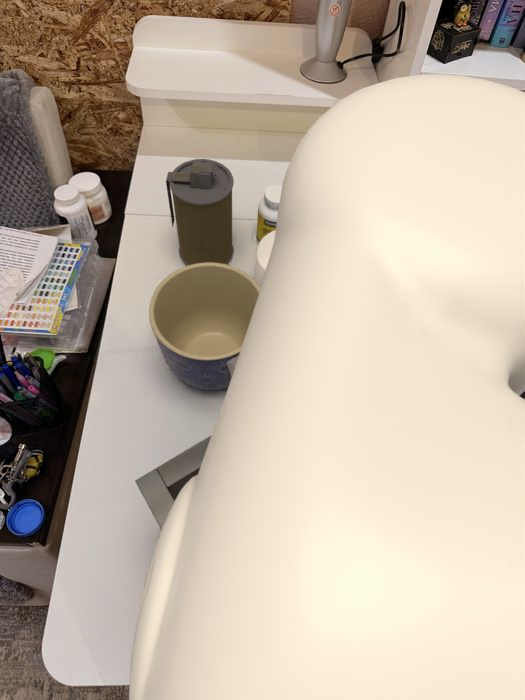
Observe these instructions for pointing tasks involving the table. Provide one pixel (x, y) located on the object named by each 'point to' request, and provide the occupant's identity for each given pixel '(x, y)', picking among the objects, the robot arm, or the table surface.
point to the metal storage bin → (171, 480)
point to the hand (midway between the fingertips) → (301, 506)
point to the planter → (203, 321)
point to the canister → (202, 210)
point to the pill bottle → (268, 211)
